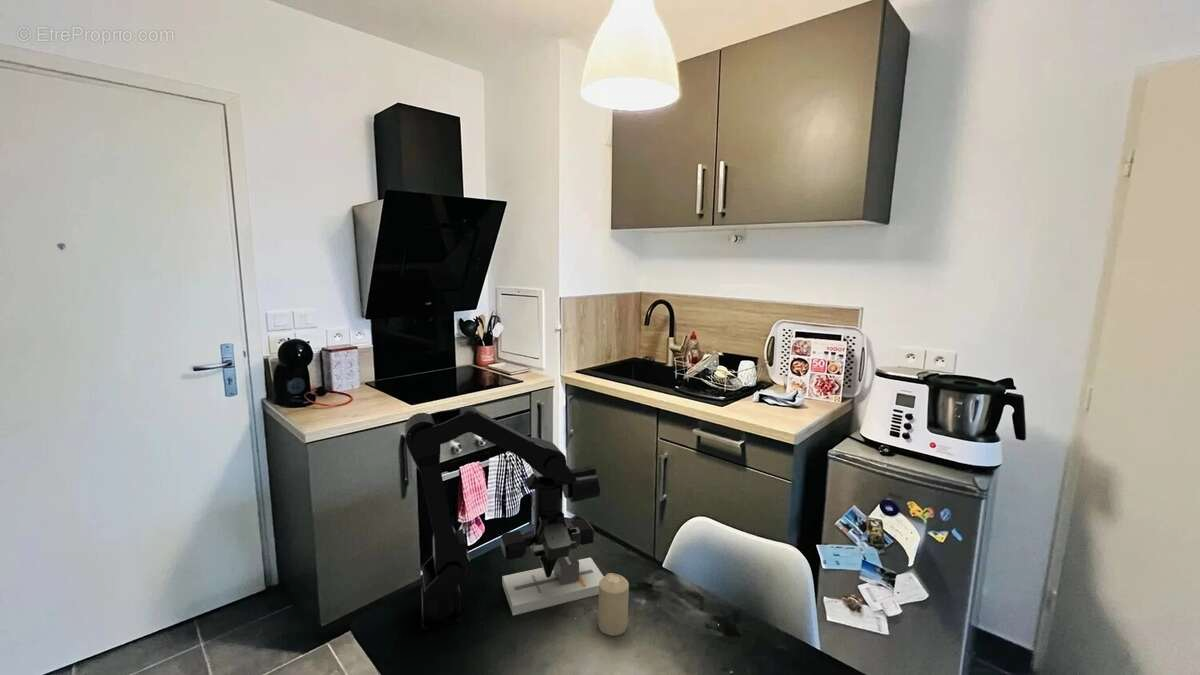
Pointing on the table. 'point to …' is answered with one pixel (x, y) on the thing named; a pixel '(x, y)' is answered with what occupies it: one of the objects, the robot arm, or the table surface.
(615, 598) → the candle
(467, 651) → the table surface
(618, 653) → the table surface
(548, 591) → the slider track board
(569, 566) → the fader
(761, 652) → the table surface
